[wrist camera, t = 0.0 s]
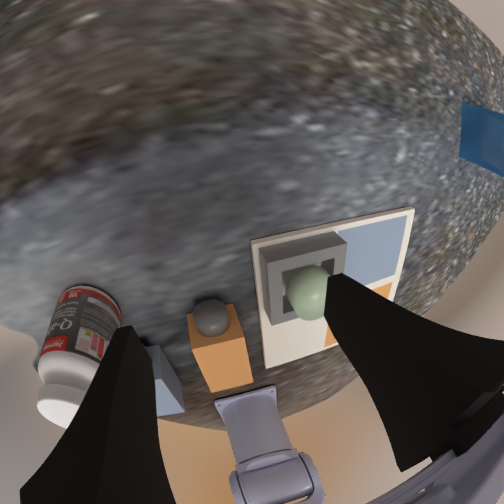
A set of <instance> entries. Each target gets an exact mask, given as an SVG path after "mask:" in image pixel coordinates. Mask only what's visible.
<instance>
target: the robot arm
mask: <svg viewBox="0 0 504 504" xmlns="http://www.w3.org/2000/svg"><path fill="white" fill-rule="evenodd" d="M324 317H325V320H326V322H327V324H328V326H329V328H330V330H331V332H332V334H333V336H334V338H335V339H336V341H337V342H338V344H339V345H340V347H341V348H342V350H343V351H344V353H345V354H346V356H347V357H348V359H349V360H350V362H351V363H352V365H353V366H354V368H355V369H356V371H357V373H358V374H359V376H360V377H361V379H362V380H363V382H364V384H365V385H366V387H367V389H368V391H369V393H370V395H371V397H372V399H373V401H374V403H375V406H376V408H377V410H378V412H379V414H380V417H381V419H382V422H383V424H384V427H385V429H386V432H387V435H388V437H389V440H390V443H391V446H392V449H393V452H394V456H395V459H396V463H397V466H398V467H399V469H400V471H401V472H403V471H405V470H407V469H409V468H411V467H413V466H414V465H416V464H418V463H420V462H422V461H423V460H425V459H426V458H428V457H429V456H430V458H431V460H432V461H433V462H432V463H431V464H429V465H428V466H427V467H425V468H424V469H422V470H421V471H420V472H418V473H417V474H415V475H414V476H412V477H411V478H409V479H408V480H406V481H405V482H403V483H401V484H400V485H398V486H397V487H395V488H393V489H392V490H390V491H388V492H387V493H385V494H383V495H381V496H379V497H378V498H376V499H374V500H372V501H370V502H368V503H366V504H496V502H497V501H498V499H499V498H500V496H501V495H502V493H503V492H504V394H503V393H502V392H503V391H504V341H502V340H495V339H488V338H483V337H479V336H474V335H470V334H467V333H463V332H460V331H457V330H454V329H451V328H448V327H445V326H442V325H440V324H437V323H435V322H432V321H430V320H428V319H425V318H423V317H421V316H419V315H417V314H415V313H413V312H411V311H409V310H407V309H405V308H403V307H401V306H399V305H397V304H395V303H394V302H392V301H390V300H388V299H386V298H385V297H383V296H381V295H379V294H378V293H376V292H374V291H373V290H371V289H369V288H368V287H366V286H364V285H362V284H361V283H359V282H357V281H356V280H354V279H352V278H350V277H349V276H347V275H345V274H343V273H339V274H336V275H332V276H329V277H328V278H327V289H326V298H325V307H324ZM214 404H215V406H216V408H217V410H218V412H219V414H220V416H221V418H222V420H223V421H224V423H225V425H226V429H227V432H228V436H229V439H230V443H231V446H232V450H233V453H234V457H235V460H236V463H237V465H235V467H236V471H232V472H231V474H230V476H229V483H230V487H231V490H232V494H233V497H234V499H235V502H236V504H284V503H287V502H290V501H293V500H296V499H299V498H302V497H305V496H308V495H309V496H308V497H307V498H306V499H305V500H303V501H301V502H298V503H295V504H323V503H324V501H325V496H326V494H325V492H324V489H323V487H322V482H321V478H320V475H319V473H318V470H317V468H316V466H315V464H314V462H313V460H312V458H311V457H310V456H309V455H308V454H305V453H304V452H300V453H298V452H297V449H296V448H294V449H293V447H292V444H291V442H290V439H289V437H288V434H287V432H286V430H285V427H284V425H283V422H282V420H281V417H280V415H279V412H278V410H277V399H276V387H275V386H274V385H272V386H268V387H265V388H261V389H258V390H254V391H251V392H247V393H243V394H239V395H235V396H231V397H227V398H223V399H219V400H215V401H214ZM424 488H425V491H422V492H420V491H421V490H423V489H424ZM418 492H420V493H418ZM417 493H418V494H417ZM20 504H176V502H175V499H174V496H173V493H172V491H171V488H170V484H169V481H168V478H167V474H166V471H165V467H164V463H163V459H162V454H161V450H160V444H159V437H158V425H157V409H156V389H155V379H154V372H153V366H152V360H151V358H150V356H149V355H148V353H147V351H146V350H145V348H144V346H143V345H142V343H141V341H140V339H139V338H138V336H137V334H136V332H135V331H134V329H133V327H132V325H131V326H126V327H121V328H116V330H115V332H114V334H113V336H112V338H111V340H110V342H109V345H108V347H107V349H106V351H105V353H104V356H103V358H102V360H101V362H100V365H99V367H98V369H97V371H96V373H95V375H94V378H93V380H92V382H91V384H90V386H89V388H88V390H87V392H86V394H85V396H84V398H83V400H82V403H81V404H80V406H79V408H78V410H77V412H76V414H75V416H74V417H73V419H72V421H71V423H70V424H69V426H68V428H67V430H66V431H65V433H64V434H63V436H62V438H61V439H60V440H59V442H58V443H57V445H56V446H55V448H54V449H53V451H52V452H51V454H50V455H49V456H48V458H47V459H46V460H45V462H44V463H43V464H42V465H41V467H40V468H39V469H38V470H37V471H36V473H35V474H34V475H33V476H32V477H31V478H30V479H29V480H28V481H27V482H26V483H25V485H24V486H23V487H22V488H21V489H20Z"/></svg>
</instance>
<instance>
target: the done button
mask: <svg viewBox="0 0 504 504" xmlns="http://www.w3.org/2000/svg"><path fill="white" fill-rule="evenodd" d="M329 276H330V275H329V274H328V272H327V271H326V270H325V269H324V268H322V267H320V266H308V267H305V268H303V269H301V270H299V271H298V272H296V273H295V274H294V275H293V276H292V277H291V278H290V280H289V281H288V283H287V286H286V296H287V298H288V300H289V302H290V303H291V305H292V307H293V309H294V310H295V312H296V314H297V316H298V317H299V318H300V319H302V320H306V321H312V320H316V319H319V318H322V317H324V307H325V298H326V289H327V278H328V277H329Z"/></svg>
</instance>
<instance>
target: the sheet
mask: <svg viewBox="0 0 504 504" xmlns="http://www.w3.org/2000/svg"><path fill="white" fill-rule="evenodd" d="M414 211H415V208H413V207H411V206H409V207H404V208H400V209H395V210H390V211H385V212H380V213H375V214H371V215H366V216H361V217H356V218H352V219H347V220H342V221H338V222H333V223H328V224H324V225H319V226H314V227H310V228H305V229H301V230H296V231H292V232H287V233H283V234H278V235H273V236H269V237H265V238H260V239H256V240H251V241H250V243H251V251H252V260H253V269H254V278H255V286H256V295H257V304H258V313H259V321H260V330H261V339H262V348H263V356H264V365H265V367H266V369H267V368H271V367H274V366H277V365H281V364H284V363H287V362H290V361H293V360H296V359H299V358H302V357H305V356H308V355H311V354H314V353H316V352H319V351H322V350H325V349H327V348H330V347H333V346H335V345H338V342H337V341H336V339H335V338H334V336H333V334H332V332H331V330H330V328H329V326H328V324H327V322H326V320H325V317H322V318H319V319H316V320H312V321H306V320H302V319H300V318H296V319H293V320H290V321H287V322H283V323H280V324H276V325H273V326H272V325H271V323H270V321H269V319H268V317H267V314H266V312H265V310H264V302H263V291H262V280H261V270H260V259H259V249H258V248H262V247H266V246H270V245H275V244H279V243H283V242H288V241H292V240H296V239H301V238H305V237H309V236H314V235H318V234H322V233H327V232H331V231H335V232H336V233H337V234H338V235H339V236H340V237H341V238H342V239H343V240H345V241H346V242H347V252H346V260H345V268H344V274H345V275H347V276H349V277H350V278H352V279H354V280H356V281H357V282H359V283H361V284H362V285H364V286H366V287H368V288H369V289H371V290H373V291H374V292H376V293H378V294H379V295H381V296H383V297H385V298H386V299H388V300H390V301H392V302H393V298H394V295H395V292H396V288H397V285H398V282H399V278H400V274H401V271H402V267H403V263H404V259H405V255H406V250H407V246H408V242H409V237H410V232H411V227H412V222H413V217H414ZM308 266H320V267H321V262H317V263H313V264H310V265H306V266H302V267H298V268H294V269H291V270H287V271H283V272H282V289H283V296H284V295H286V286H287V283H288V281H289V280H290V278H291V277H292V276H293V275H294V274H295V273H296V272H298V271H299V270H301V269H303V268H305V267H308Z"/></svg>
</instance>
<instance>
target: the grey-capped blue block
mask: <svg viewBox="0 0 504 504" xmlns="http://www.w3.org/2000/svg"><path fill="white" fill-rule="evenodd" d="M142 345H143V344H142ZM143 346H144V345H143ZM144 348H145V350H146V351H147V353H148V355H149V356H150V358H151V360H152V366H153V372H154V379H155V389H156V409H157V416H163V415H170V414H176V413H182V412H185V408H184V401H183V395H182V388H181V382H180V380H179V379H178V377H177V375H176V374H175V372H174V370H173V368H172V367H171V365H170V363H169V361H168V360H167V358H166V356H165V354H164V352H163V351H162V349H161V347H160V345H154V346H149V347H145V346H144Z"/></svg>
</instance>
